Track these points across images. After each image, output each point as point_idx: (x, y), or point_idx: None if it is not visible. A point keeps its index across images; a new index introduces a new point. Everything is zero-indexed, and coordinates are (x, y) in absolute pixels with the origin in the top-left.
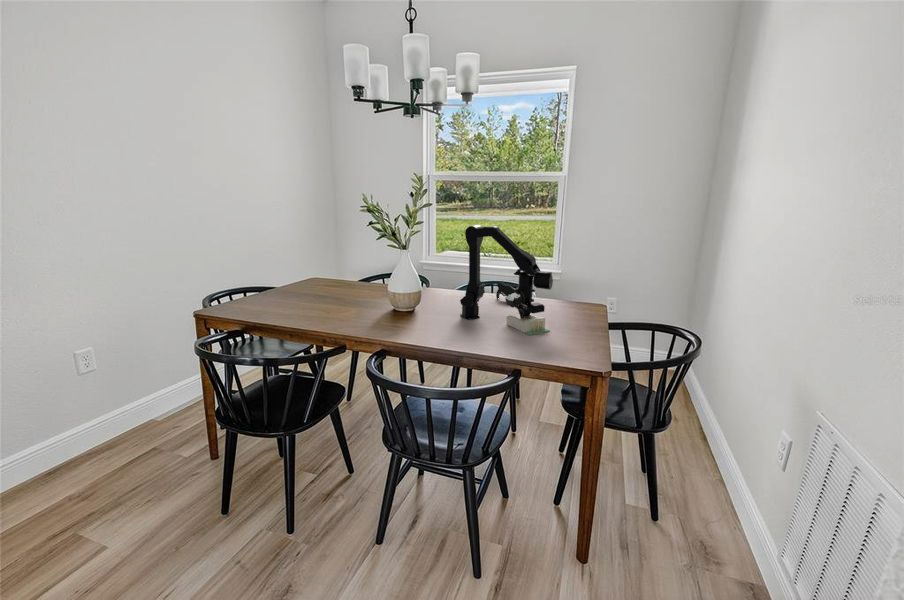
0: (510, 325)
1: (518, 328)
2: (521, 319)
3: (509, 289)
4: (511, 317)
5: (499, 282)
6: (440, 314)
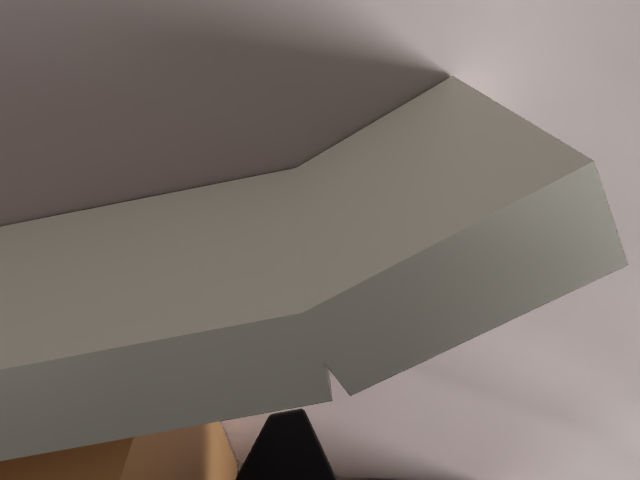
0: (343, 145)
1: (35, 227)
2: (117, 473)
3: None
4: (350, 268)
5: None
6: None
